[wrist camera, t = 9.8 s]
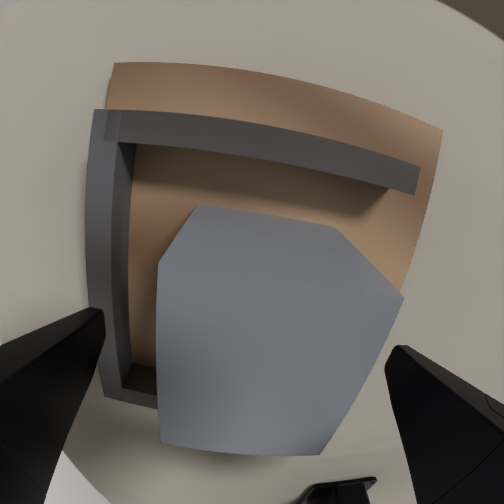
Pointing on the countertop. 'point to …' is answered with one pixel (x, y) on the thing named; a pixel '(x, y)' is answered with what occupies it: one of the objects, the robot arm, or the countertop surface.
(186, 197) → the dock
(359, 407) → the countertop surface
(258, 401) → the block
